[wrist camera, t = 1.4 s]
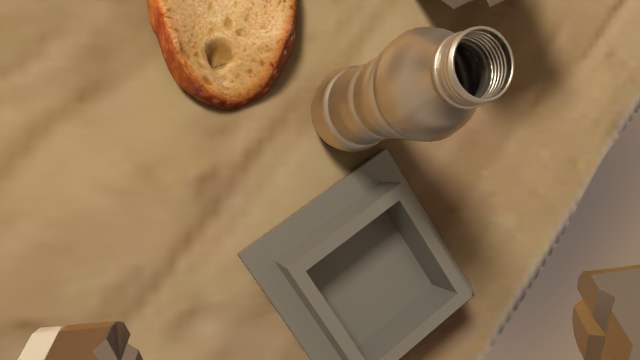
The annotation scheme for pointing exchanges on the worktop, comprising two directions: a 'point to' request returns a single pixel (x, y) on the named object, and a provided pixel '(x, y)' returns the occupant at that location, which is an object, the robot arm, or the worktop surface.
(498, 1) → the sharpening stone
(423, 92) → the plastic bottle
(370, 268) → the holder
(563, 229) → the worktop surface
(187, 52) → the slice of bread
